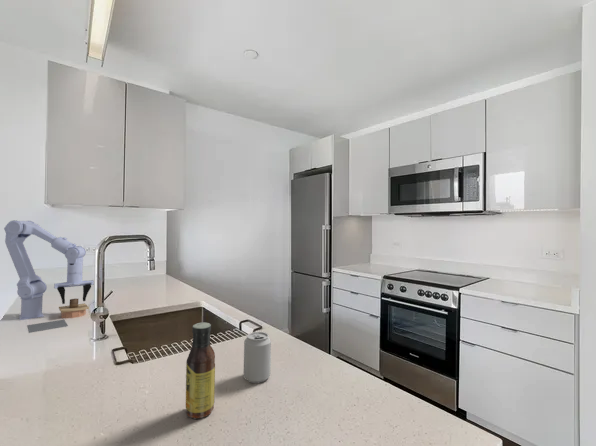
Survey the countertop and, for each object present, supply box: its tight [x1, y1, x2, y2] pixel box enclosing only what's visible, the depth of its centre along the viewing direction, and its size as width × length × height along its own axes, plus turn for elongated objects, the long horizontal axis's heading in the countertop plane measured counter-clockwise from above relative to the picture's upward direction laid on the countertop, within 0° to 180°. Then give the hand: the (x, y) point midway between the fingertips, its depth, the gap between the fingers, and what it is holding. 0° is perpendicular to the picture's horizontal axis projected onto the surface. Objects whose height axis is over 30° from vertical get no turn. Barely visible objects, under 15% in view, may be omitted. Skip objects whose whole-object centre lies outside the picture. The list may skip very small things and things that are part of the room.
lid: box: [58, 298, 90, 314], centre depth 138 cm, size 10×10×4 cm
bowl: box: [60, 309, 87, 319], centre depth 138 cm, size 9×9×4 cm
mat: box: [26, 319, 69, 334], centre depth 123 cm, size 12×12×1 cm
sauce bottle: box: [185, 322, 216, 419], centre depth 68 cm, size 7×6×20 cm
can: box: [243, 331, 272, 384], centre depth 84 cm, size 8×8×12 cm
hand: (73, 302), depth 138 cm, fingers open, 7 cm apart
